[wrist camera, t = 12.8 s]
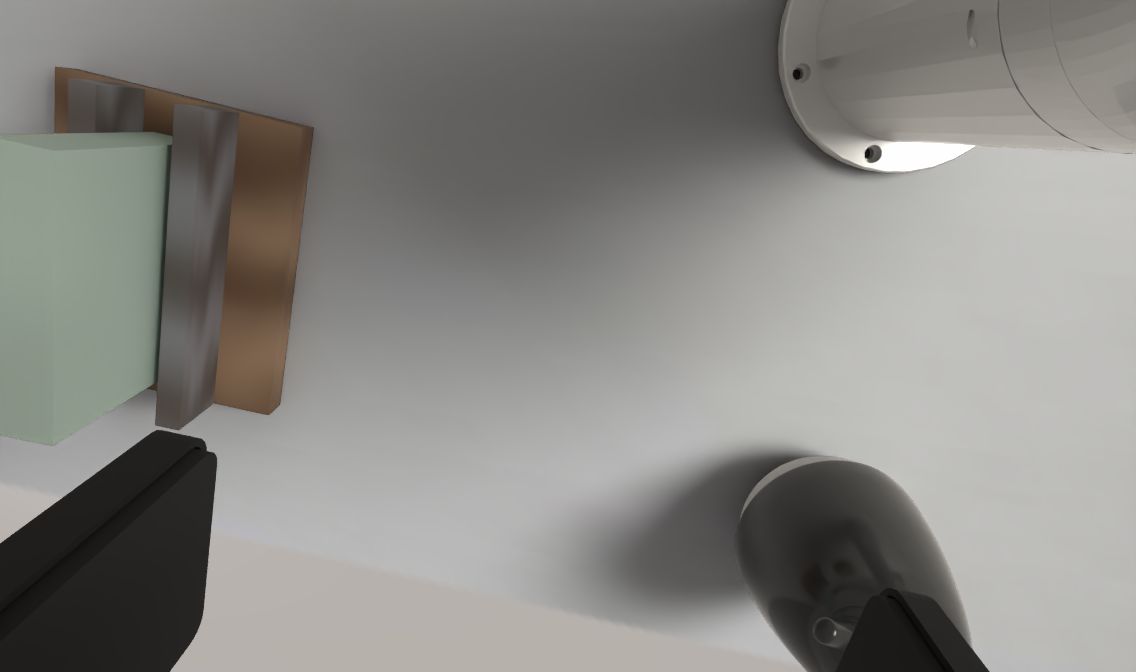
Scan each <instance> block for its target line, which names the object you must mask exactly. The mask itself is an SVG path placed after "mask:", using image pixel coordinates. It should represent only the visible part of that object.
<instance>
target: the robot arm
mask: <svg viewBox="0 0 1136 672" xmlns="http://www.w3.org/2000/svg"><path fill="white" fill-rule="evenodd" d="M778 64H779V76H780V80H781V84H782V88H783V93H784V97H785V99H786V101H787V104H788V106H789V108H790V110H791V112H792V115H793V117H794V119H795V120H796V122H797V123H798V124H799V126H800V127H801V129H802V130H803V131H804V133H805V134H806V135H807V137H808V138H809V139H810V140H811V141H813V142H814V143H815V144H816V145H817V146H818V147H819V148H820V149H821V150H823V151H824V152H825V153H827V154H828V155H830V156H832V157H834V158H835V159H837V160H839V161H841V162H843V163H844V164H848V165H851V166H854V167H857V168H860V169H864V170H869V171H876V172H882V173H909V172H914V171H919V170H925V169H930V168H933V167H936V166H938V165H941V164H944V163H946V162H949V161H951V160H954V159H956V158H958V157H959V156H961V155H963V154H964V153H966V152H968V151H969V150H971V149H973V148H974V147H976V146H990V147H1008V148H1027V149H1046V150H1065V151H1084V152H1103V153H1121V154H1134V153H1136V0H787V4H786V7H785V10H784V13H783V17H782V20H781V26H780V34H779V41H778ZM795 69H798V70H799V71H800V73H801V74H800V77H799V79H797V80H796V79H794V78H793V71H794V70H795ZM867 148H868V149H869V150H870V155H869V157H867V158H865V157H864V153H865V151H866V149H867ZM216 470H217V457H216V455H215V454H214V453H213V452H208V451H207V447H206V444H205V442H204V441H203V440H202V439H200V438H195V437H191V436H186V435H181V434H177V433H172V432H167V431H163V430H156V431H154V432H152V433H151V434H149V435H148V436H146V437H145V438H144V439H142V440H141V441H140V442H138V443H137V444H136V445H134V446H133V447H131V448H130V449H129V450H127V451H126V452H125V453H123V454H122V455H120V456H119V457H118V458H116V459H115V460H114V461H112V462H111V463H110V464H108V465H107V466H105V467H104V468H103V469H101V470H100V471H99V472H97V473H96V474H94V475H93V476H92V477H90V478H89V479H88V480H86V481H85V482H84V483H82V484H81V485H79V486H78V487H77V488H75V489H74V490H73V491H71V492H70V493H68V494H67V495H66V496H64V497H63V498H62V499H60V500H59V501H58V502H56V503H55V504H53V505H52V506H51V507H49V508H48V509H47V510H45V511H44V512H42V513H41V514H40V515H38V516H37V517H36V518H34V519H33V520H32V521H30V522H29V523H28V524H26V525H25V526H23V527H22V528H21V529H19V530H18V531H17V532H15V533H14V534H12V535H11V536H10V537H8V538H7V539H6V540H4V541H3V542H2V543H0V672H170V671H171V669H172V668H173V666H174V665H175V664H176V662H177V661H178V660H179V658H180V657H181V655H182V654H183V653H184V651H185V650H186V649H187V647H188V646H189V645H190V643H191V642H192V640H193V639H194V637H195V635H196V633H197V631H198V628H199V626H200V623H201V620H202V616H203V610H204V599H205V587H206V578H207V567H208V555H209V545H210V535H211V524H212V513H213V502H214V492H215V481H216ZM835 672H989V670H988V669H987V668H986V667H985V665H984V664H983V663H982V661H981V660H980V659H979V657H978V656H977V655H976V653H975V652H974V651H973V649H972V648H971V647H970V645H969V644H968V643H967V642H966V640H965V639H964V638H963V636H962V635H961V634H960V632H959V631H958V630H957V628H956V627H955V626H954V624H953V623H952V622H951V620H950V619H949V618H948V617H947V615H946V614H945V613H944V611H943V610H942V609H941V607H940V606H939V605H938V603H937V602H936V601H935V600H934V599H933V598H932V597H929V596H927V595H923V594H918V593H913V592H909V591H904V590H899V589H895V588H887V589H885V590H883V591H882V592H881V593H880V595H879V596H878V595H875V596H872V597H871V598H870V599H869V600H868V602H867V603H866V606H865V608H864V610H863V612H862V614H861V617H860V619H859V621H858V623H857V625H856V628H855V630H854V632H853V634H852V636H851V639H850V641H849V643H848V645H847V647H846V650H845V652H844V654H843V656H842V658H841V661H840V663H839V665H838V667H837V669H836V671H835Z"/></svg>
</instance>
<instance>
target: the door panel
mask: <svg viewBox="0 0 1136 672" xmlns="http://www.w3.org/2000/svg"><path fill="white" fill-rule="evenodd" d="M172 138H173V136H169V135H165V134H160V133H156V132H118V133H62V134H6V135H0V435H1V436H6V437H11V438H16V439H20V440H25V441H30V442H35V443H40V444H45V445H49V446H54V445H56V444H57V443H59V442H61V441H62V440H64V439H65V438H67V437H69V436H70V435H72V434H73V433H75V432H77V431H78V430H80V429H82V428H83V427H85V426H86V425H88V424H90V423H91V422H93V421H95V420H96V419H98V418H99V417H101V416H103V415H104V414H106V413H107V412H109V411H111V410H112V409H114V408H116V407H117V406H119V405H120V404H122V403H124V402H125V401H127V400H128V399H130V398H132V397H133V396H135V395H137V394H138V393H140V392H141V391H143V390H145V389H146V388H148V387H149V386H151V385H153V384H154V383H156V382H158V371H159V354H160V337H161V321H162V304H163V288H164V271H165V255H166V238H167V221H168V205H169V188H170V172H171V155H172Z"/></svg>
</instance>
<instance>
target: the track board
mask: <svg viewBox="0 0 1136 672" xmlns="http://www.w3.org/2000/svg"><path fill="white" fill-rule="evenodd" d="M118 132H156V133H160V134H165V135H169V136H173V138H172V155H171V172H170V188H169V205H168V221H167V238H166V255H165V271H164V288H163V304H162V321H161V337H160V354H159V371H158V382H156V383H154V384H153V385H151V386H149V387H148V388H147V389H151V390H156V391H157V404H156V420H155V425H156V426H161V427H166V428H170V429H175V430H180V429H181V428H182V427H184V426H185V425H186V424H188V423H189V422H190V421H192V420H193V419H194V418H195V417H197V416H198V415H199V414H201V413H202V412H203V411H204V410H206V409H207V408H208V407H210V406H211V405H212V404H213V403H215V404H220V405H224V406H229V407H233V408H238V409H242V410H247V411H251V412H256V413H261V414H265V415H270V414H271V413H272V412H273V411H274V410H275V409H276V408H277V407H278V406H279V405H280V400H281V392H282V383H283V375H284V367H285V359H286V350H287V342H288V334H289V326H290V317H291V309H292V301H293V293H294V284H295V276H296V268H297V260H298V251H299V243H300V235H301V227H302V218H303V210H304V202H305V194H306V185H307V177H308V169H309V161H310V152H311V144H312V136H313V127H309V126H305V125H301V124H297V123H293V122H289V121H284V120H280V119H276V118H272V117H268V116H264V115H260V114H256V113H252V112H248V111H244V110H240V109H236V108H232V107H228V106H224V105H220V104H216V103H212V102H208V101H204V100H200V99H196V98H192V97H188V96H184V95H180V94H176V93H172V92H168V91H164V90H159V89H155V88H151V87H147V86H143V85H139V84H135V83H131V82H127V81H123V80H119V79H115V78H111V77H107V76H103V75H99V74H95V73H91V72H87V71H83V70H79V69H72V68H63V67H55V134H62V133H118Z"/></svg>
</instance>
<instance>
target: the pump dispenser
mask: <svg viewBox="0 0 1136 672" xmlns="http://www.w3.org/2000/svg"><path fill="white" fill-rule="evenodd" d="M735 558H736V563H737V567H738V570H739V573H740V575H741V578H742V580H743V583H744V585H745V587H746V589H747V591H748V593H749V595H750V596H751V598H752V600H753V601H754V603H755V605H756V606H757V608H758V609H759V611H760V613H761V614H762V616H763V617H764V619H765V620H766V622H767V623H768V625H769V626H770V628H771V629H772V630H773V632H774V633H775V634H776V636H777V637H778V638H779V640H780V641H781V642H782V643H783V645H784V646H785V647H786V648H787V649H788V651H789V652H790V653H791V654H792V655H793V656H794V658H795V659H796V660H797V661H798V662H799V663H800V664H801V666H802V667H803V668H804V669H805V670H806V671H807V672H835V671H836V669H837V667H838V665H839V663H840V661H841V658H842V656H843V654H844V652H845V650H846V647H847V645H848V643H849V641H850V639H851V636H852V634H853V632H854V630H855V628H856V625H857V623H858V621H859V619H860V617H861V614H862V612H863V610H864V608H865V606H866V603H867V602H868V600H869V599H870V598H871V597H872V596H875V595H878V596H879V595H880V593H881V592H882V591H883V590H885V589H887V588H895V589H899V590H904V591H909V592H913V593H918V594H923V595H927V596H929V597H932V598H933V599H934V600H935V601H936V602H937V603H938V605H939V606H940V607H941V609H942V610H943V611H944V613H945V614H946V615H947V617H948V618H949V619H950V620H951V622H952V623H953V624H954V626H955V627H956V628H957V630H958V631H959V632H960V634H961V635H962V636H963V638H964V639H965V640H966V642H967V643H968V644H969V645H970V647H971V648H972V640H971V635H970V630H969V625H968V621H967V617H966V613H965V610H964V607H963V603H962V600H961V597H960V594H959V591H958V589H957V586H956V583H955V580H954V578H953V575H952V573H951V570H950V568H949V565H948V563H947V561H946V558H945V556H944V554H943V552H942V550H941V548H940V546H939V544H938V542H937V540H936V538H935V536H934V535H933V533H932V531H931V529H930V527H929V526H928V524H927V522H926V520H925V519H924V517H923V515H922V514H921V512H920V511H919V509H918V508H917V506H916V505H915V503H914V502H913V501H912V499H911V498H910V497H909V496H908V494H907V493H906V492H905V491H904V490H903V489H902V488H901V486H900V485H899V484H897V483H896V482H895V481H894V480H893V479H892V478H890V477H889V476H888V475H886V474H885V473H883V472H881V471H879V470H877V469H875V468H873V467H871V466H868V465H865V464H861V463H857V462H853V461H850V460H846V459H843V458H838V457H831V456H811V457H805V458H800V459H796V460H793V461H790V462H787V463H785V464H783V465H781V466H779V467H777V468H776V469H774V470H773V471H771V472H770V473H768V474H767V475H766V476H765V477H764V478H763V479H762V480H761V481H759V482H758V484H757V485H756V486H755V487H754V489H753V490H752V491H751V493H750V494H749V496H748V498H747V500H746V502H745V504H744V507H743V509H742V512H741V516H740V521H739V524H738V527H737V530H736V535H735ZM972 649H973V648H972Z"/></svg>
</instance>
